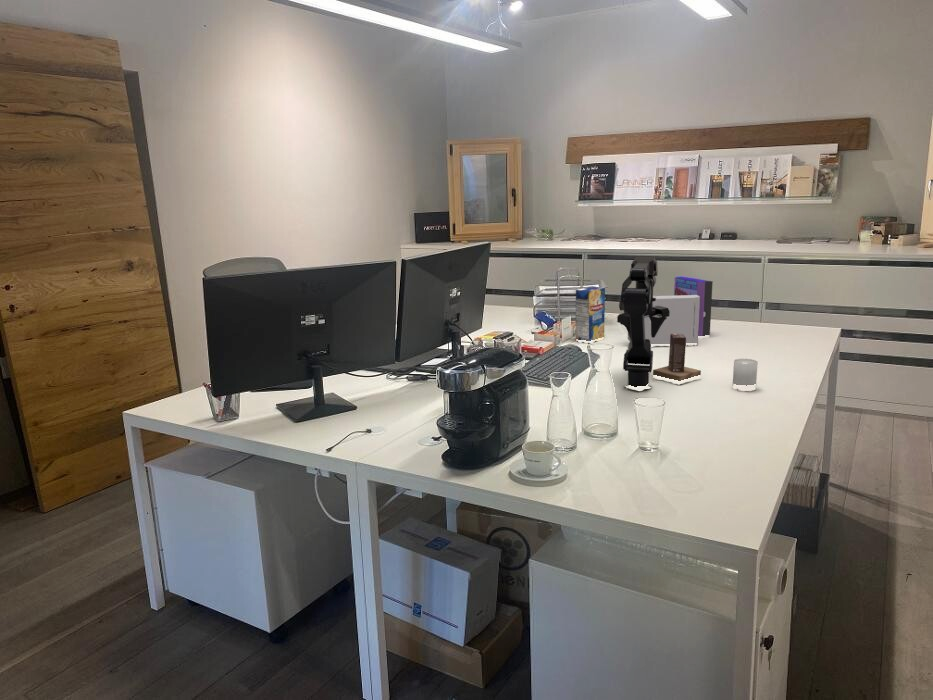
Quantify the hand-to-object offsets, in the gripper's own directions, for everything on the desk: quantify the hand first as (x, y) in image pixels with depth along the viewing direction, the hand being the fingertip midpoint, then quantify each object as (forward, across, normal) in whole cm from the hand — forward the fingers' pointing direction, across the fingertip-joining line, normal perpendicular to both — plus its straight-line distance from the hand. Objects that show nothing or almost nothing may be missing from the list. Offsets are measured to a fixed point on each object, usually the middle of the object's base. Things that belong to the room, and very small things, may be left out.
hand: (642, 339), depth 239 cm
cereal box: (+18, -62, -35) cm, 74 cm away
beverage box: (+17, -22, -53) cm, 60 cm away
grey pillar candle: (+13, -16, +29) cm, 35 cm away
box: (+10, -8, +8) cm, 15 cm away
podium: (+13, -8, +8) cm, 18 cm away
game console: (+16, -39, -28) cm, 51 cm away
